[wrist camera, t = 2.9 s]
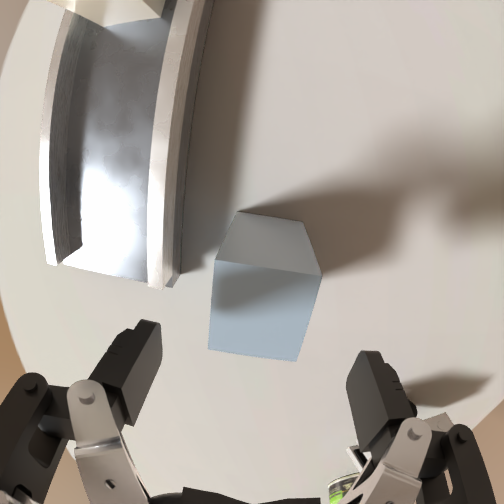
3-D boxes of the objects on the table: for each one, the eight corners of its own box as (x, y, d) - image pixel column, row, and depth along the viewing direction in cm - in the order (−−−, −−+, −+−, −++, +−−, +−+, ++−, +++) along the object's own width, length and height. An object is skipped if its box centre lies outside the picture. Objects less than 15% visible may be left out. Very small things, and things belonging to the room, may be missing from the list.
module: (236, 211, 19) (213, 259, 11) (303, 222, 19) (323, 276, 11) (228, 276, 21) (206, 349, 13) (289, 286, 21) (297, 361, 13)
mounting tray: (118, -42, 10) (98, -61, 7) (230, -59, 10) (223, -86, 6) (76, 254, 21) (49, 274, 17) (180, 274, 21) (162, 302, 17)
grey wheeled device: (435, 390, 27) (349, 405, 24) (469, 442, 18) (384, 484, 15) (418, 409, 29) (332, 426, 25) (448, 459, 20) (359, 498, 16)
